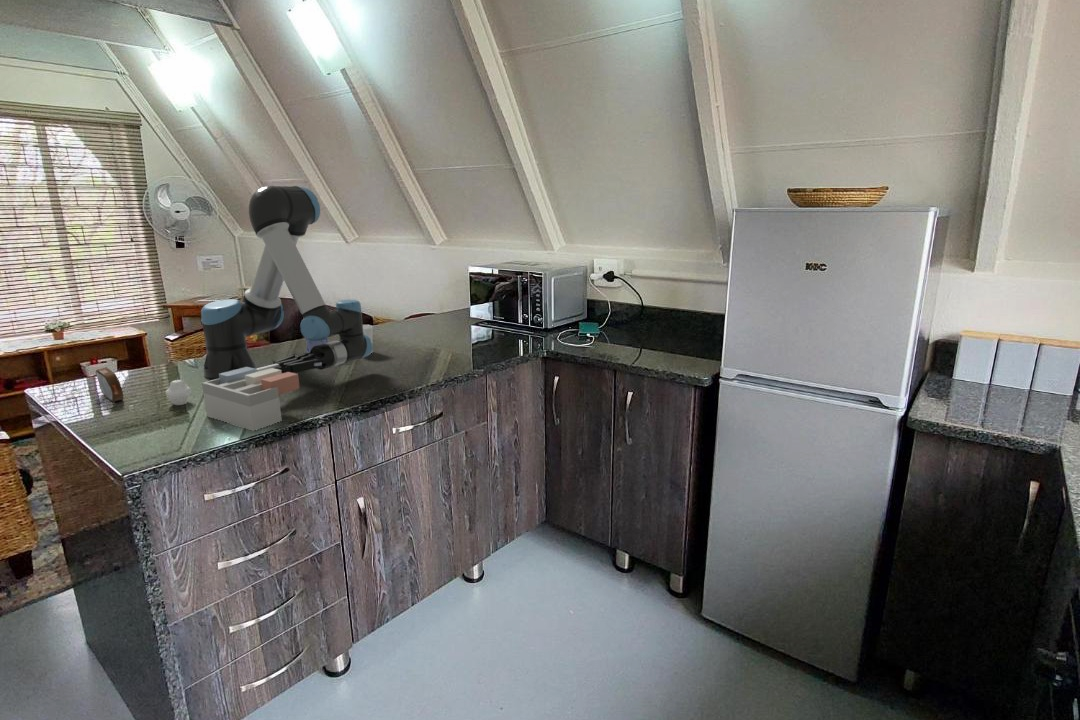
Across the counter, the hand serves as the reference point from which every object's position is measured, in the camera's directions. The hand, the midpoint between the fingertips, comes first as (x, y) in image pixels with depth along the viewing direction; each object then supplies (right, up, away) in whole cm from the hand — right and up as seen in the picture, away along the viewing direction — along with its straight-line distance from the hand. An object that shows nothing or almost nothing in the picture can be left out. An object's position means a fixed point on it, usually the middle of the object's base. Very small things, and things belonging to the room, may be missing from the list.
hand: (257, 374), depth 162 cm
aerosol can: (-4, +6, +56) cm, 56 cm away
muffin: (-23, -9, +2) cm, 24 cm away
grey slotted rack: (+1, -11, -9) cm, 15 cm away
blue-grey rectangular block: (-3, -3, -4) cm, 6 cm away
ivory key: (+5, -3, -5) cm, 8 cm away
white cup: (+13, +6, +55) cm, 57 cm away
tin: (-45, -7, +7) cm, 46 cm away
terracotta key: (+11, -4, -9) cm, 15 cm away
